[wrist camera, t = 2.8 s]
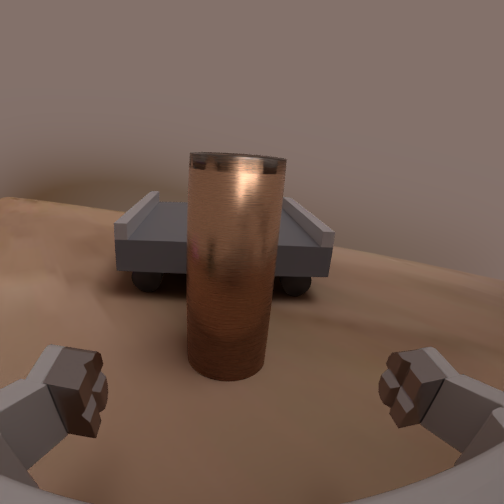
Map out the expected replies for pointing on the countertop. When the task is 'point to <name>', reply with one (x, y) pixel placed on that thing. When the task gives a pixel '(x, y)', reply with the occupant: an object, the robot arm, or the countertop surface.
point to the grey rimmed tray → (175, 244)
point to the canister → (231, 260)
